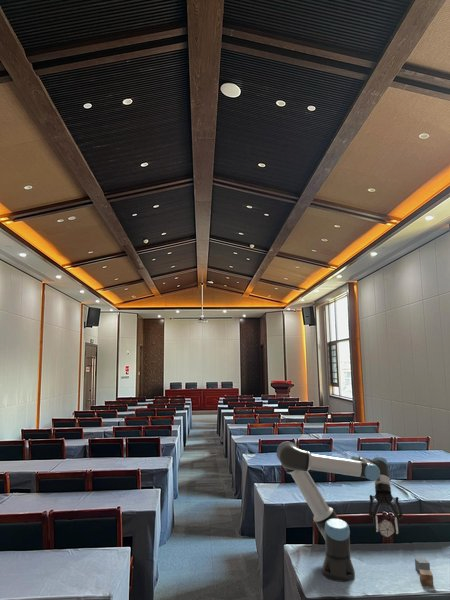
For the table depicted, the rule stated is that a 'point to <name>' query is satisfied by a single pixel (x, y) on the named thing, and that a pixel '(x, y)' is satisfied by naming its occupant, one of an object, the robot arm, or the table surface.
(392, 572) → the table surface
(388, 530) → the spiky ball
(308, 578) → the table surface
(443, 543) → the table surface
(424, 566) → the slate block
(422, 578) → the walnut block
